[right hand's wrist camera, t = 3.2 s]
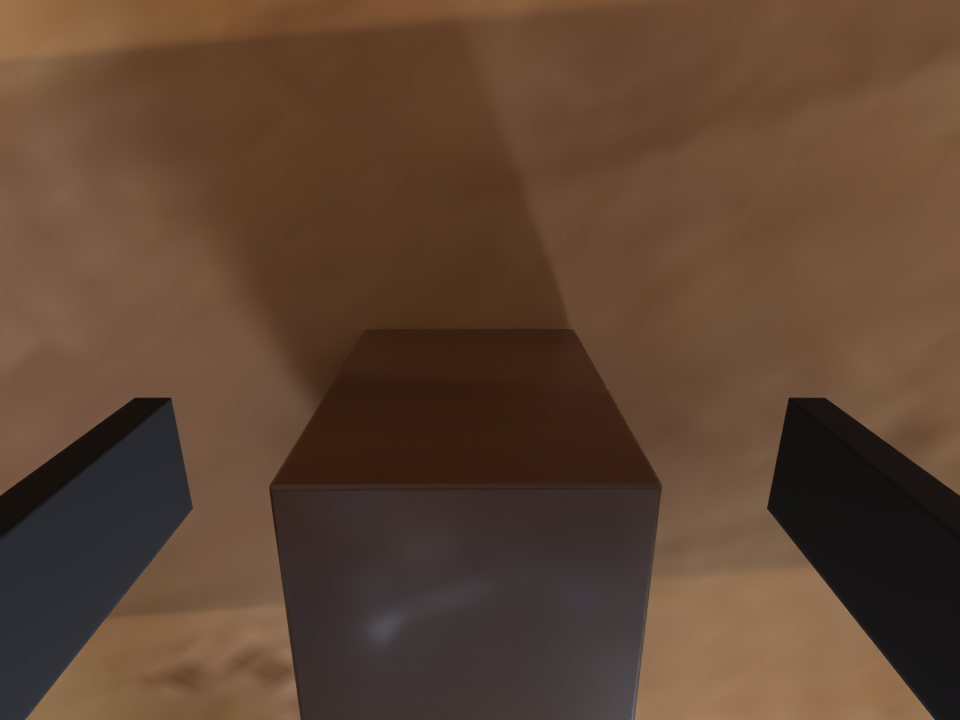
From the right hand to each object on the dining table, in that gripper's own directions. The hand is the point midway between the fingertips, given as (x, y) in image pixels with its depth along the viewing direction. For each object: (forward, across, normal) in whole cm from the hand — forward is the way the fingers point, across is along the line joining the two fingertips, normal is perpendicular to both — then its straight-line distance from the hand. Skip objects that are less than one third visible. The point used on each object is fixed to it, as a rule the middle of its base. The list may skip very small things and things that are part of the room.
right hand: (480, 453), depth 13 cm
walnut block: (+2, 0, 0) cm, 2 cm away
